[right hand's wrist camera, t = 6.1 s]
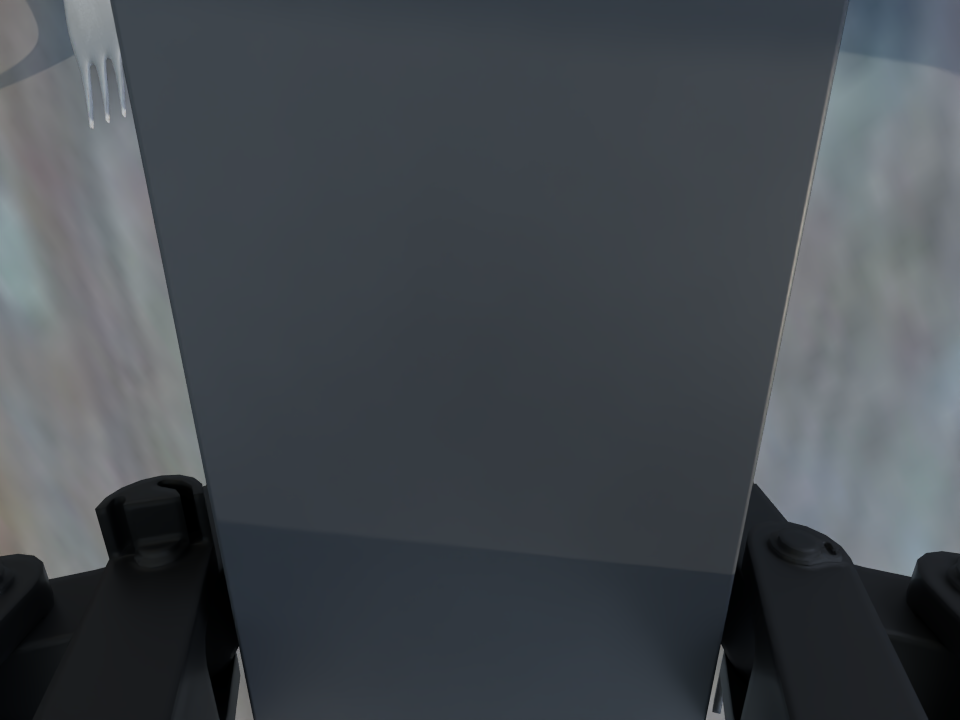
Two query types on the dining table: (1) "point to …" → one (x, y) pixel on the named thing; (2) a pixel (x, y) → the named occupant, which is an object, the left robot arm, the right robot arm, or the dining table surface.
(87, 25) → the fork
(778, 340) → the bar
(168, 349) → the dining table surface
